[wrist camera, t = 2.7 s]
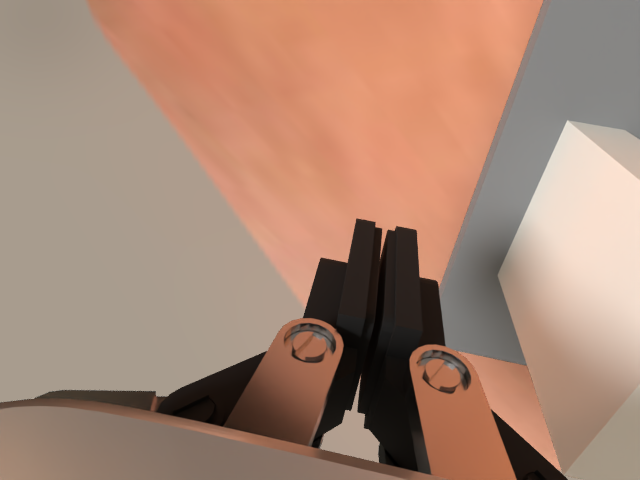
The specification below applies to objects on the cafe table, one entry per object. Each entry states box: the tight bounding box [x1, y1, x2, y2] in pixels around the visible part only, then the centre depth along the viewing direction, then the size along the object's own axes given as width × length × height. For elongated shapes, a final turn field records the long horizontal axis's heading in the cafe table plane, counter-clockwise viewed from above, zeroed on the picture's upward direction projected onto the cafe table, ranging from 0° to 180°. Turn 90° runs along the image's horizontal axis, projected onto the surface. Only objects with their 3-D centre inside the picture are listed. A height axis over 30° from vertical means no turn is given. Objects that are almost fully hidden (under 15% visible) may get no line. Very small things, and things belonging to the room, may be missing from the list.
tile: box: [498, 120, 640, 480], centre depth 13 cm, size 2×7×9 cm, turn 172°
